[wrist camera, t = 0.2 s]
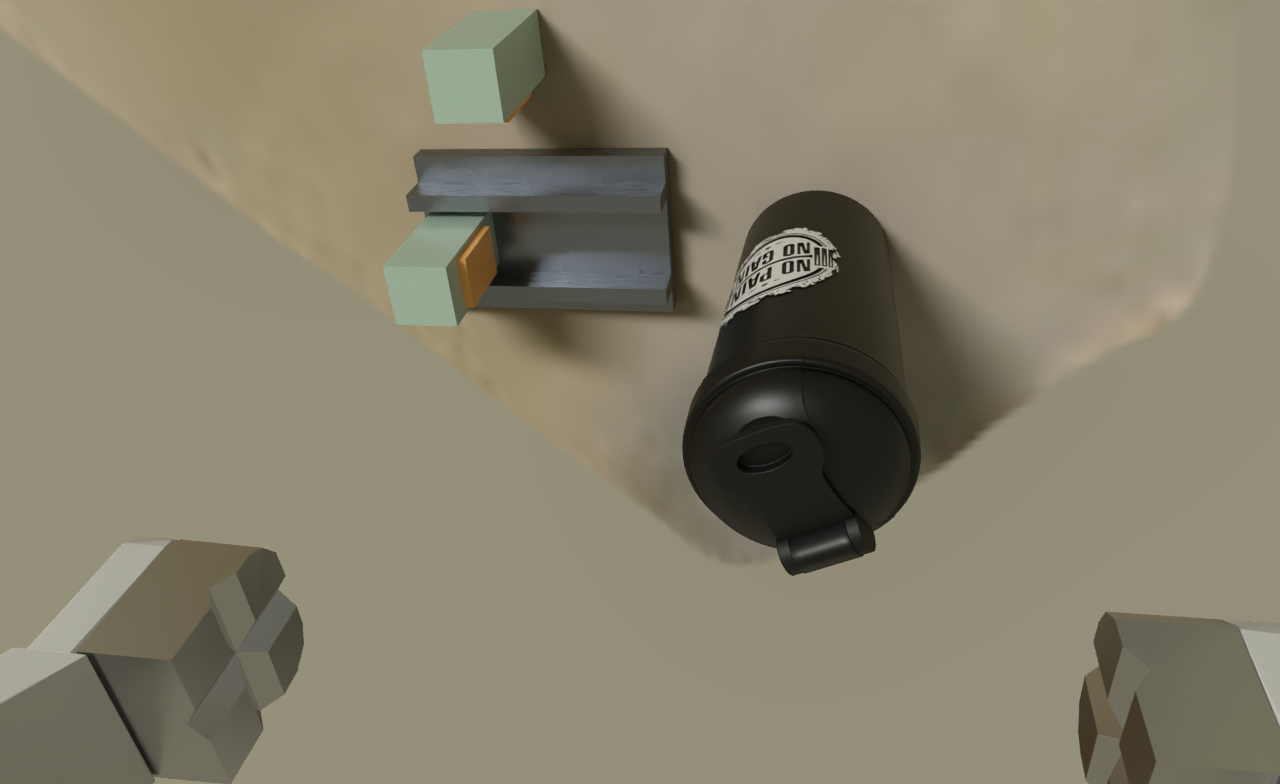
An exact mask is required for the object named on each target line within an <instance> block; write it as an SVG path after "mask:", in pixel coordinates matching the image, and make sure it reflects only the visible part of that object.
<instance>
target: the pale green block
mask: <svg viewBox="0 0 1280 784" xmlns="http://www.w3.org/2000/svg"><path fill="white" fill-rule="evenodd" d="M422 56H423V61H424V66H425V72H426V77H427V82H428V88H429V93H430V98H431V104H432V109H433V114H434V120H435V124H454V123H504V122H509V121H510V120H511V119H512V118H513V117H514V116H515V115H516V113H517V112H518V111H519V110H520V109H521V108H522V107H523V105H524V104H525V103H526V102H527V101H528V100H529V99H530V97H531V96H532V94H531V92H532V91H533V89H534V88H535V87H536V86H537V85H538V84H539V83H540V82H541V80H542V79H543V78H544V77H545V69H544V61H543V53H542V44H541V36H540V28H539V20H538V12H537V9H522V10H493V11H474V12H472V13H471V14H470V15H468V16H467V17H466V18H464V19H463V20H461V21H460V22H459V23H457V24H456V25H455V26H453V27H452V28H451V29H449V30H448V31H447V32H445V33H444V34H443V35H441V36H440V37H439V38H437V39H436V40H435V41H433V42H432V43H431V44H429V45H428V46H427V47H425V48H424V49H423V50H422Z"/></svg>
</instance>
